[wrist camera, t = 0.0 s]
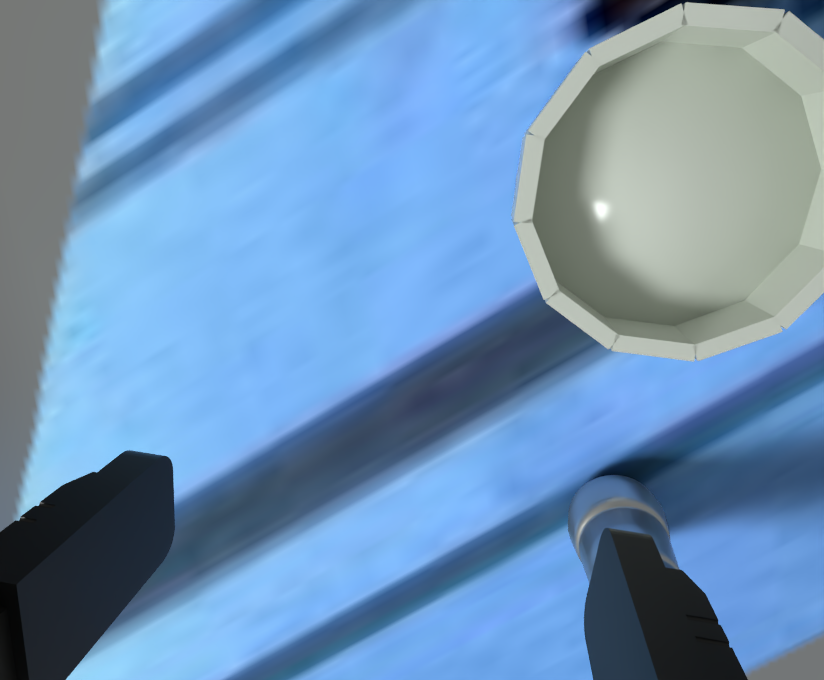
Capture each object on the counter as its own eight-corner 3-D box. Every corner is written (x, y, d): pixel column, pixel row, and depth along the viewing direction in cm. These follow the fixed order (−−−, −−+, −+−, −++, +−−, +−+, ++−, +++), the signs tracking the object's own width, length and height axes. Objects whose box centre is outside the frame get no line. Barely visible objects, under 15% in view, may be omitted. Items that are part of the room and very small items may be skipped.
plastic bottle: (661, 465, 41) (809, 730, 22) (650, 548, 43) (777, 856, 24) (566, 460, 41) (630, 710, 22) (560, 541, 43) (613, 834, 24)
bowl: (539, 16, 34) (547, -8, 29) (868, 41, 32) (935, 20, 27) (496, 315, 39) (496, 335, 34) (775, 350, 37) (817, 377, 33)
